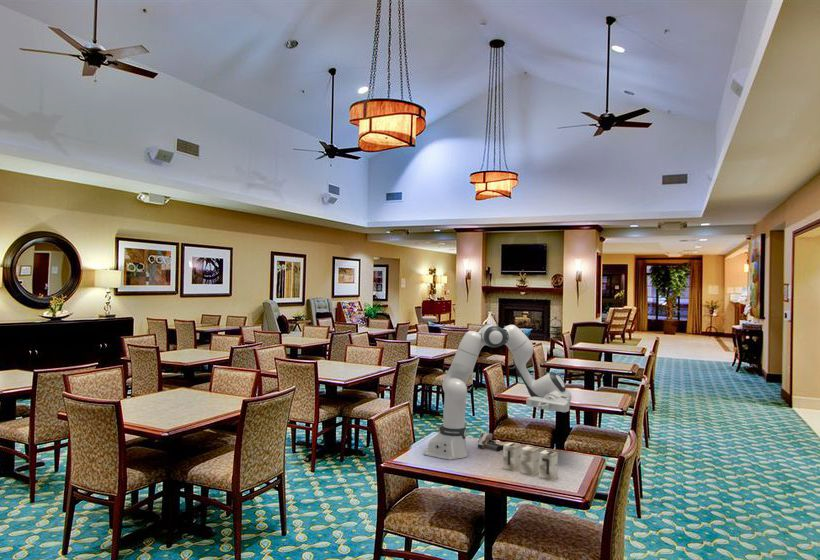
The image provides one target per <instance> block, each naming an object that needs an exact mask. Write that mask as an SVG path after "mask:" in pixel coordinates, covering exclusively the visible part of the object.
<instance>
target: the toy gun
mask: <svg viewBox="0 0 820 560" xmlns="http://www.w3.org/2000/svg"><path fill="white" fill-rule="evenodd" d="M493 436H494V435H493V433H491V432H487V433H486V432H483V433H481V435H480V437H479V440H477V441H478V443H477V449H480V450H491V451H496V452H502V451H503V445H504V444H499V443H498V444H497V442H496V441H495V440H493Z"/></svg>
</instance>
